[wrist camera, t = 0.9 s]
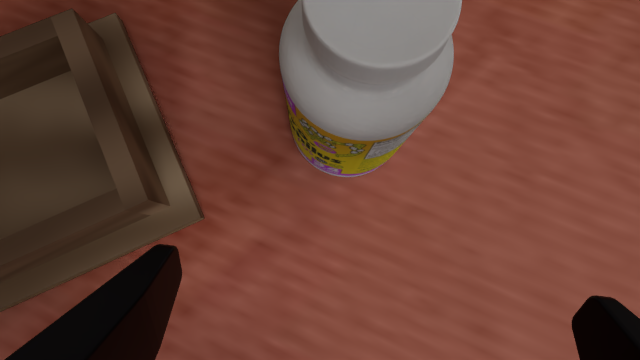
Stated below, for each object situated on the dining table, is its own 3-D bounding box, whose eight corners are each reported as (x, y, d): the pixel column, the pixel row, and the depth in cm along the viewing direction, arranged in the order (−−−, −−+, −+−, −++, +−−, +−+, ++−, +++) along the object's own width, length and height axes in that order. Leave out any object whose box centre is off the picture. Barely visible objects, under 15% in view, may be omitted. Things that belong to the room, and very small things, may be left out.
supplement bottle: (271, 108, 24) (223, -50, 11) (363, 58, 24) (414, -145, 12) (327, 200, 23) (343, 143, 10) (420, 146, 24) (543, 28, 11)
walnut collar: (204, 218, 23) (183, 212, 19) (-31, 325, 21) (-104, 342, 18) (121, 20, 25) (87, -21, 21) (-97, 107, 23) (-175, 81, 20)
